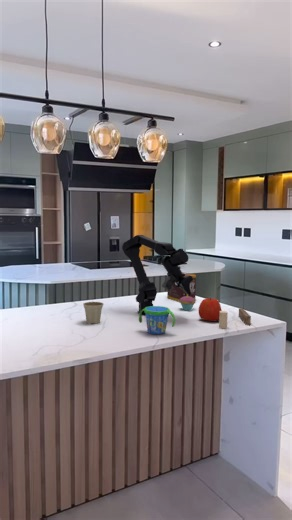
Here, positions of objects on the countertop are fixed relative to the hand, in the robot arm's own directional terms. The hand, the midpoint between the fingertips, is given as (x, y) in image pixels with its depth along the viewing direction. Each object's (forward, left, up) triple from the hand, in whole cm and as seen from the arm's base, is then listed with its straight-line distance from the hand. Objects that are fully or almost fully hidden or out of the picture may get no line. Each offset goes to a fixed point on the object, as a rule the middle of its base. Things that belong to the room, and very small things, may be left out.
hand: (189, 294), depth 184 cm
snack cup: (-24, -15, -12) cm, 31 cm away
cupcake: (+9, +18, -12) cm, 23 cm away
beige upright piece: (+11, -8, -12) cm, 18 cm away
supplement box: (+19, +43, -12) cm, 48 cm away
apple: (+8, -6, -12) cm, 15 cm away
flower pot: (-44, +11, -12) cm, 47 cm away
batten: (+22, -13, -12) cm, 28 cm away
